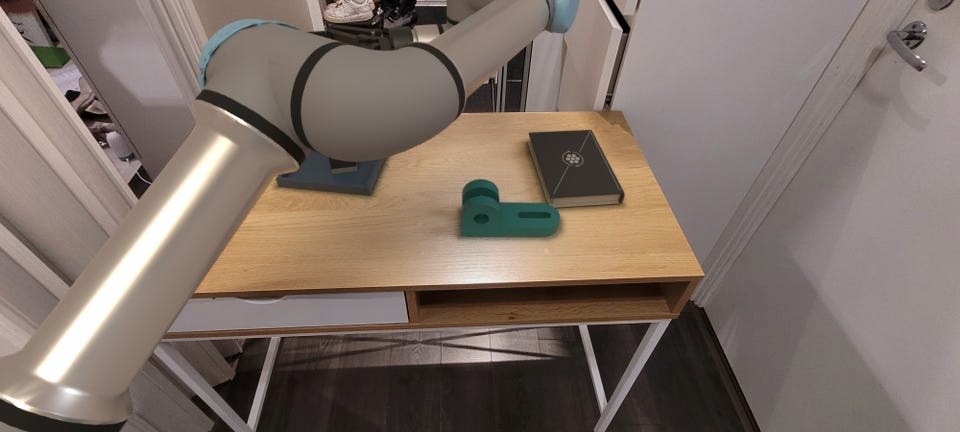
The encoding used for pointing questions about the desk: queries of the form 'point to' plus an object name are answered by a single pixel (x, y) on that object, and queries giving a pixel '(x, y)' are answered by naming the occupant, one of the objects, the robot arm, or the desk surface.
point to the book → (574, 169)
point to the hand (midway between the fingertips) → (286, 58)
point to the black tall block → (342, 166)
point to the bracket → (503, 214)
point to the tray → (332, 176)
